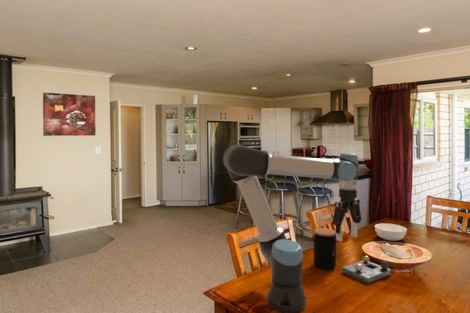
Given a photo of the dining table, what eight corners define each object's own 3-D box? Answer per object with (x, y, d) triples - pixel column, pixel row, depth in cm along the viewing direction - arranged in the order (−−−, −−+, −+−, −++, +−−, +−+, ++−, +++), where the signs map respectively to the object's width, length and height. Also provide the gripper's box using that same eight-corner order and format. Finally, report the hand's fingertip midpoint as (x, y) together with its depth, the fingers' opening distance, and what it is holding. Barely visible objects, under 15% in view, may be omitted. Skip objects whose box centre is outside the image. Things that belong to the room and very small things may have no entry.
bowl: (377, 232, 218) (378, 221, 217) (408, 237, 207) (409, 226, 207) (371, 239, 203) (371, 228, 203) (403, 245, 192) (404, 233, 192)
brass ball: (366, 263, 160) (366, 257, 160) (361, 261, 162) (361, 255, 162) (370, 262, 161) (370, 256, 161) (365, 260, 164) (365, 254, 164)
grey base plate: (367, 283, 144) (367, 278, 144) (341, 272, 156) (342, 267, 155) (390, 274, 153) (390, 269, 153) (364, 264, 165) (364, 259, 164)
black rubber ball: (385, 271, 151) (386, 263, 151) (378, 268, 154) (378, 260, 154) (390, 269, 153) (391, 261, 153) (383, 266, 156) (383, 258, 156)
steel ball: (359, 273, 149) (359, 265, 149) (353, 270, 152) (353, 263, 151) (364, 271, 151) (364, 264, 150) (357, 268, 153) (358, 261, 153)
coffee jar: (336, 272, 156) (337, 235, 154) (313, 270, 158) (314, 233, 157) (334, 263, 166) (335, 228, 165) (313, 261, 168) (313, 227, 167)
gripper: (337, 192, 134) (336, 245, 136) (371, 187, 146) (369, 236, 148) (324, 189, 141) (322, 240, 142) (356, 185, 153) (355, 232, 154)
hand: (346, 238), depth 145 cm, fingers open, 9 cm apart
